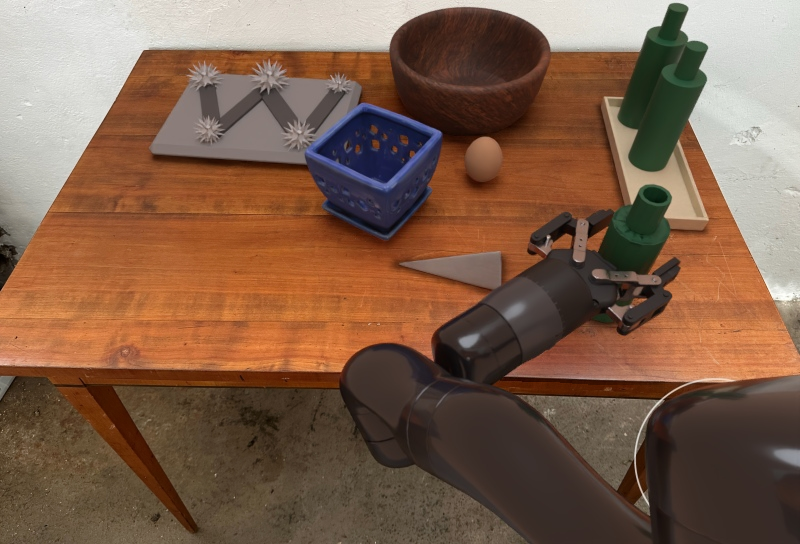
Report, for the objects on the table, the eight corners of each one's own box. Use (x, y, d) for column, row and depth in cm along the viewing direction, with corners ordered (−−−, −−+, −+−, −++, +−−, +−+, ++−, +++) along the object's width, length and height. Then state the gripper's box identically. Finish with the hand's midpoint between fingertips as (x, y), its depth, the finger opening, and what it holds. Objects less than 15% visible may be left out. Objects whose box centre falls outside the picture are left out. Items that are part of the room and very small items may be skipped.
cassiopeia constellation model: (149, 160, 83) (131, 121, 78) (197, 81, 97) (184, 43, 91) (341, 173, 81) (337, 134, 75) (363, 90, 94) (360, 52, 89)
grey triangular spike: (396, 298, 66) (503, 289, 64) (394, 260, 67) (500, 249, 64) (405, 300, 72) (504, 292, 69) (403, 265, 73) (501, 256, 70)
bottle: (630, 294, 66) (689, 184, 52) (621, 329, 63) (682, 223, 49) (584, 279, 68) (630, 169, 54) (574, 313, 65) (619, 205, 51)
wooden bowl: (391, 62, 100) (390, 6, 92) (527, 60, 99) (537, 4, 91) (389, 149, 84) (387, 91, 76) (551, 147, 84) (566, 89, 76)
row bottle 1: (655, 113, 88) (702, 2, 74) (650, 133, 85) (698, 20, 71) (620, 105, 90) (660, -6, 76) (614, 124, 87) (654, 12, 72)
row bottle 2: (669, 153, 82) (723, 39, 68) (663, 176, 79) (719, 61, 65) (631, 143, 84) (676, 30, 69) (624, 165, 80) (670, 51, 66)
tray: (702, 230, 73) (709, 220, 71) (629, 226, 73) (634, 216, 72) (659, 109, 90) (663, 98, 88) (600, 106, 90) (603, 96, 89)
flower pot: (311, 219, 75) (298, 150, 66) (367, 166, 82) (362, 97, 73) (390, 259, 70) (387, 191, 61) (443, 199, 77) (447, 130, 68)
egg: (471, 161, 82) (475, 123, 77) (504, 172, 81) (511, 133, 75) (456, 183, 79) (460, 145, 74) (491, 195, 78) (497, 156, 72)
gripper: (598, 343, 46) (715, 257, 51) (487, 241, 53) (600, 176, 59) (576, 384, 52) (684, 303, 57) (479, 287, 59) (583, 223, 65)
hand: (641, 239), depth 58 cm, fingers open, 8 cm apart
